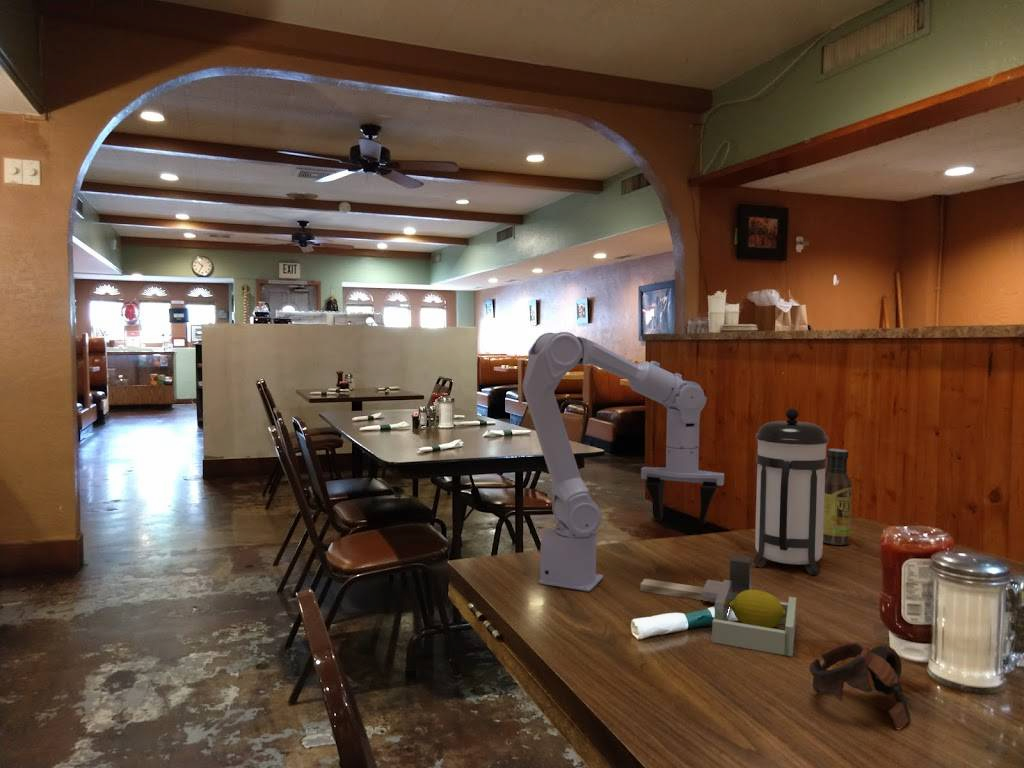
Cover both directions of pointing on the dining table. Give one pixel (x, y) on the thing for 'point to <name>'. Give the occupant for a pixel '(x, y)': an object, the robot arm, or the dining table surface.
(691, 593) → the rail
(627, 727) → the dining table surface
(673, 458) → the robot arm
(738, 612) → the lemon
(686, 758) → the dining table surface
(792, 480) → the coffee press
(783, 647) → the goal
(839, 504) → the sauce bottle
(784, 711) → the dining table surface
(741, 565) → the slider
